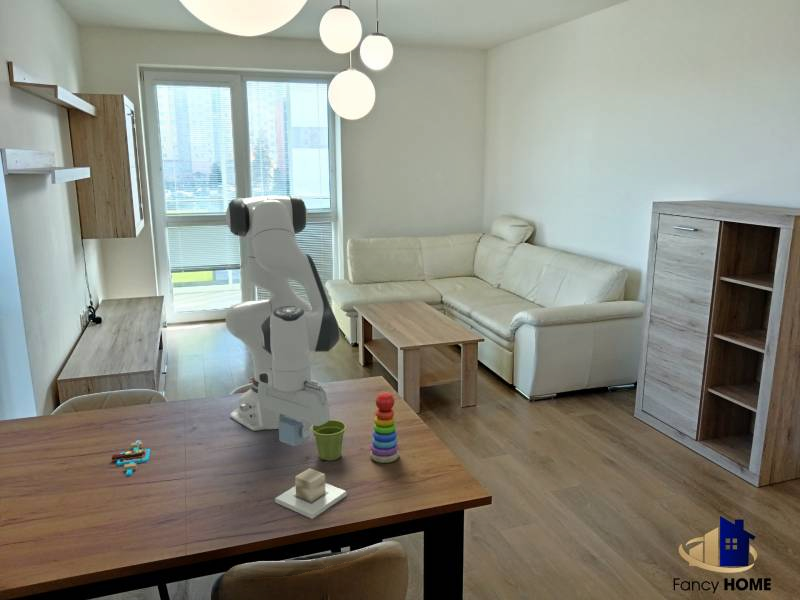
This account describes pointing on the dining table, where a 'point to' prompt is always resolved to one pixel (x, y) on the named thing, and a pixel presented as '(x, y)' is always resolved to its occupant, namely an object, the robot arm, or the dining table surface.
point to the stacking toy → (384, 431)
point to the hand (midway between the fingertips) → (294, 433)
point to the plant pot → (329, 439)
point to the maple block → (310, 484)
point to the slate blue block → (291, 431)
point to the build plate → (312, 507)
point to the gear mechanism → (136, 453)
